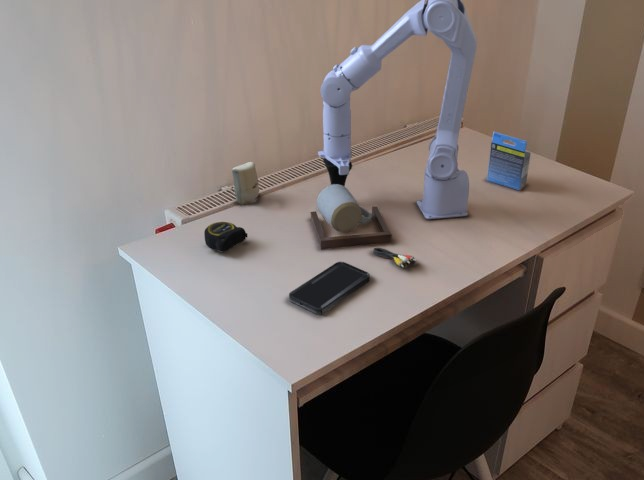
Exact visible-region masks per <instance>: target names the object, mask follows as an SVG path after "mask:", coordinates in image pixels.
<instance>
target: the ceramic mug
mask: <svg viewBox="0 0 644 480" xmlns="http://www.w3.org/2000/svg"><path fill="white" fill-rule="evenodd" d="M316 208H317V211H318V213H319V214H320V215H321V216H322V217H323V218H324V220H325V221H326V222H327V223H328V225H329V226H330V227H331V228H332V229H333V230H335V231H337V232H340V233H348V232H351V231H353V230H355V229H356V228H357V227H358V226H359V225H360V224H362V225H369V224H370V223H371V220H372V219H373V216H372V213H371V212H370V211H368V210H367V209H365V208H364V207H362V206H360V204H359V202H358V201H357V199H356V198H355V197H354V196H353V194H352V193H351V192H350V191H349V189H348V187H346V186H342V185H338V184H333V185H331V184H330V185H328V186H326V187H325V188H323V189H321V191H320V193H319V194H318V196H317V198H316Z"/></svg>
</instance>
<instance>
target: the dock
mask: <svg viewBox="0 0 644 480" xmlns="http://www.w3.org/2000/svg"><path fill="white" fill-rule="evenodd" d="M309 213H310V222H311V225H312V227H313V230H314V231H313V232H314V234H315V236H316V239H317V240H316V241H317V242H318V245H319V247H320V250H330V249H341V248H351V247H361V246H362V247H363V246H372V245H381V244H391V243H392V233H391V231H390V229H389V227H388V225H387V223H386V221H385V219H384V217H383V215H382V213H381V211H380V209H379V207H378V206H377V205H375V206H371V216H372V219H373V220H374V223H375V225H376V227H377V228H378V231H379V232H367V233H359V234H348V235H347V234H346V235H337V236H327V237H326V235H325V232H324V229H323V227H322V224H321V221H320V218H319V216H318V213H317V211H315V210H314V211H310V212H309Z"/></svg>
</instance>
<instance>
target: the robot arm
mask: <svg viewBox="0 0 644 480" xmlns="http://www.w3.org/2000/svg"><path fill="white" fill-rule="evenodd" d="M428 31H429V32H430V33H431V34H433V35H434V36H435V37H437V38H438V39H441V40H442V41H443V43H444V44H445V45H446V46H447V48H448V49H449V50H450V51H451V53H450V57H449V64H448V70H447V75H446V79H445V80H446V81H445V85H444V91H443V97H442V101H441V108H440V112H439V113H440V114H439V118H438V123H437V127H436V132H435V135H434V137H433V138H432V139H431V140H430V142H429V145H428V159H427V162H426V167H425V168H424V178H423V179H424V180H423V192H422V200H417V201H416V205H417V206H418V209H420V211H421V213H422V214H423V216H424V218H425V219H426V220H437V219H449V218H459V217H461V218H462V217H467V216H468V215H469V214H468V203H469V196H470V195H469V194H470V178H469V174H468V172H467V171H466V170H464V169H459V168H458V166H459V161H458V156H459V143H458V142H459V136H460V130H461V125H462V120H463V116H464V111H465V105H466V101H467V97H468V96H467V94H468V91H469V85H470V81H471V76H472V71H473V65H474V63H475V62H474V61H475V58H476V57H475V56H476V52H477V44H478V43H477V42H478V41H477V37H476V34H475V31H474V29H473V25H472V23H471V21H470V18H469V16H468V13H467V9H466V6H465V4H464V2H463V1H462V0H419V2H417V3H415V5H414V6H412V7H411V8H410V9H408V10H407V11H406V12H405V13H404V14H403V15H402V16H401V17H400V18H399V19H398V20H397V21H396V22H395V23H394V24H393V25H392V26H391V27H389V29H387V30H386V31H385V32H384V33H383V34H382V35H381V36H380V37H379V38H378V39H377V40H376V41H375V42H374V43H373V44H371V45H370V44H369V45H368V44H361V45H360V46H359V47H357V46H354V47H353V48H352V49H351V50H350V51H349V52H350V54H349V56H348V57H347V58H345V59H344V60H343V61H342V62H341V63H340V64H338V63H336V64H335V65H334V66H333V68H332V70H331V71H328V73H327V74H326V75H325V77H324V79H323V81H322V83H321V86H320V96H321V99H322V100H323V101H322V104H323V105H322V106H323V109H322V132H323V150H319V151H317V156H318V157H319V158H323V159H322V161H323V163H324V166H325V168H326V170H327V173H328V176H329V182H330V185H333V184H338V185H342V186H344V187H346V182H347V181H346V180H347V178H348V175H350V171H351V170H352V169H353V163H352V162H351V159H352V156H353V151H352V110H351V94H352V92H355V91H358V90H359V89H360V88H361V87H363V86H364V85H365V84H366V83H367V82H368V81H369V80H370V79H372V78H373V77H374V76H375V75H376V74H377V73H379V72H380V71H381V70H382V60H384V59H385V58H386V57H387V56H388V55H389V54H391V53H392V52H393V51H394V50H396V49H397V48H398V47H400V46H401V45H403V44H404V43H405V42H406V41H407V40H409V38H411V37H412V36H425V37H426V36H427V35H428Z"/></svg>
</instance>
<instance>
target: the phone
mask: <svg viewBox="0 0 644 480" xmlns="http://www.w3.org/2000/svg"><path fill="white" fill-rule="evenodd" d="M370 280H371V274H370V273H369V272H368V271H365V270H363V269H362V268H359V267H356V266H354V265H352V264H349V263H347V262H345V261H337V262H335V263H333V264H332V265H330V266H328V267H327V268H326V269H324V270H323V271H321V272H320V273H318V274H317V275H315V276H313V277H312V278H310V279H308V280H307V281H306V282H304V283H302V284H300V285H299V286H298V287H296V288H295V289H293V290H291V291H290V292H289V293H288V298H289V302H290V303H292V304H293V305H296V306H298V307H301V308H302V309H305V310H307V312H311V313H313V314H315V315H323V314H325V313H327V312H328V311H330V310H331V309H333V308H334V307H335V306H337V305H338V304H340V303H342V301H344V300H346V299H347V298H348V297H349V296H352V294H354V293H355V292H357V291H358V290H360V289H361V288H362V287H364V286H365V285H366V284H368V283H369V282H370Z"/></svg>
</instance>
